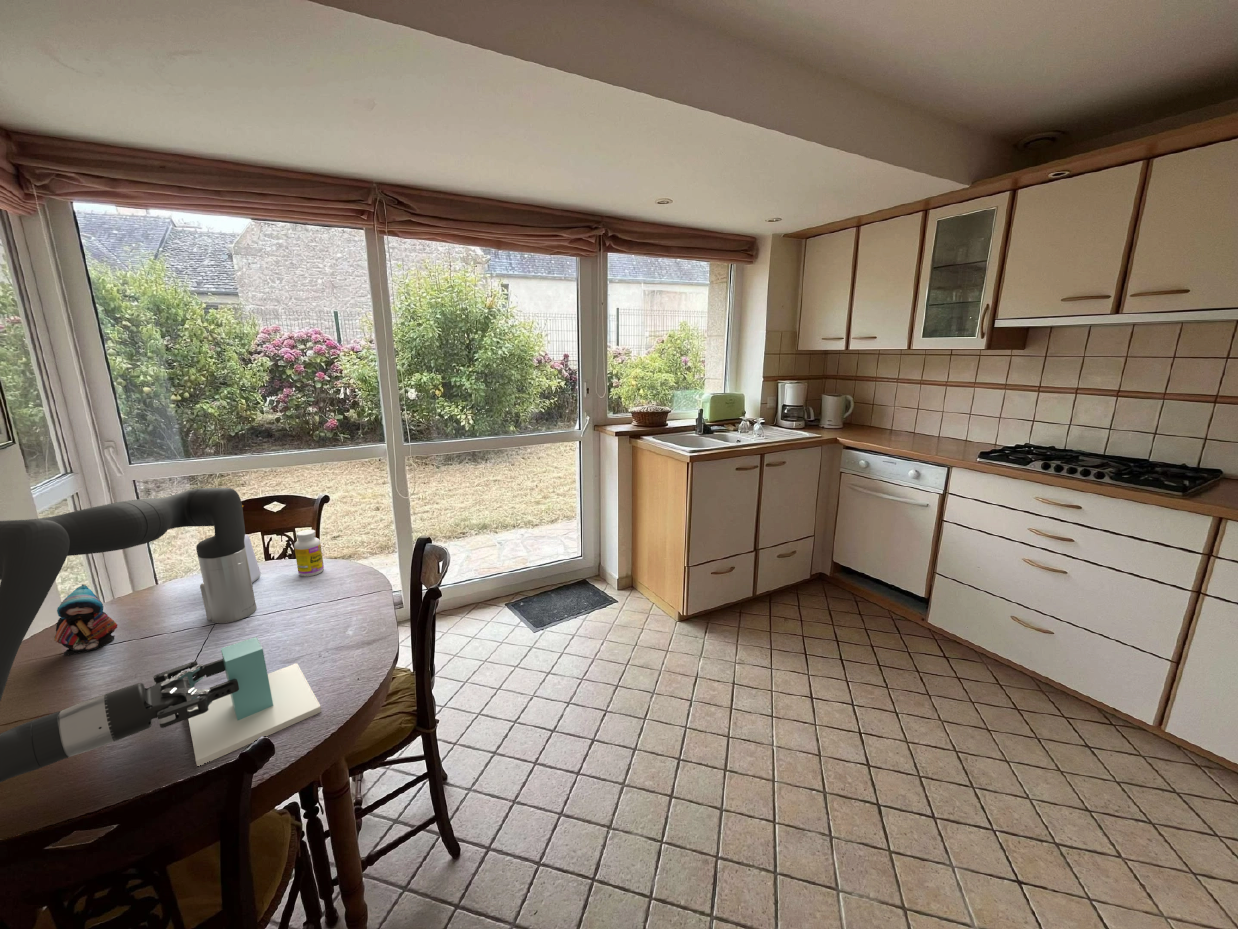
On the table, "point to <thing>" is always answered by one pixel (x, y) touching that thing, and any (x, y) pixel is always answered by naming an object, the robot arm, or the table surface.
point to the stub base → (252, 716)
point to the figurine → (83, 622)
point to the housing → (248, 677)
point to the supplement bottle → (308, 553)
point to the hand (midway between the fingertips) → (234, 673)
